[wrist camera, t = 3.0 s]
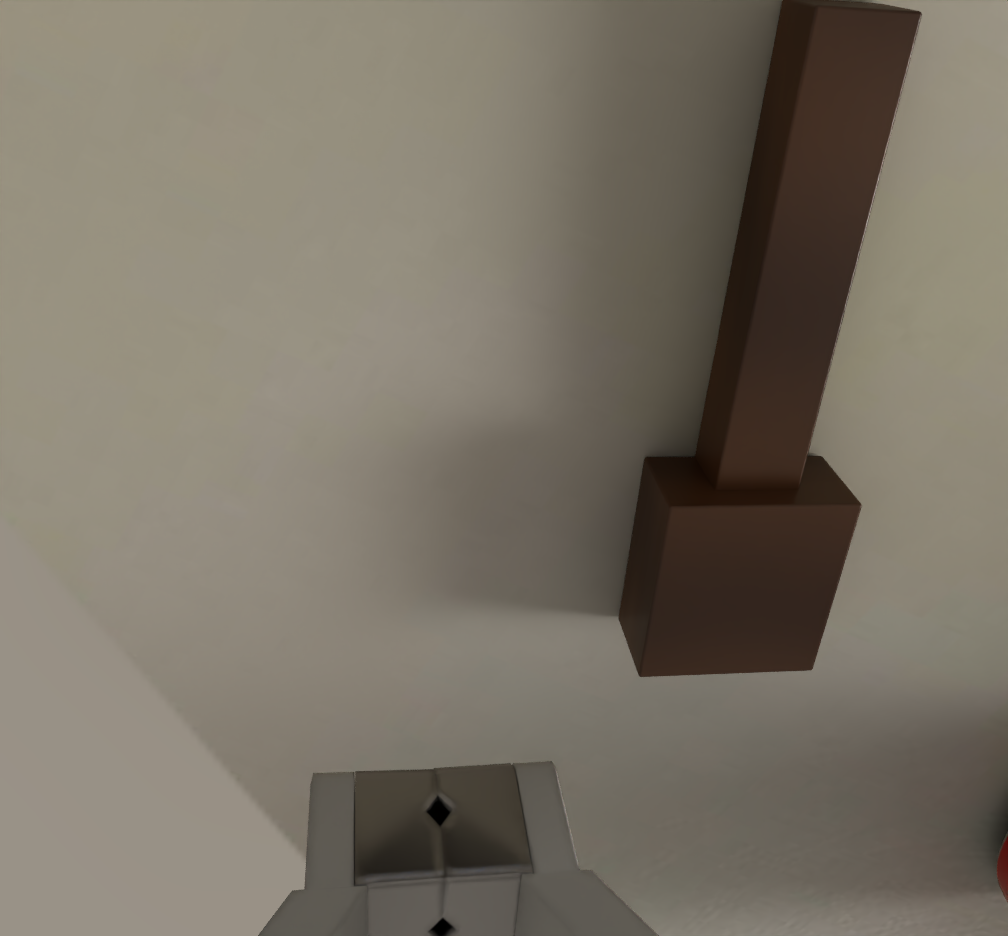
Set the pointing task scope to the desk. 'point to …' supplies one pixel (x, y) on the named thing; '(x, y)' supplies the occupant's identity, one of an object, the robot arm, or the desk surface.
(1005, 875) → the soda can
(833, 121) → the wooden mallet
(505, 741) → the desk surface
